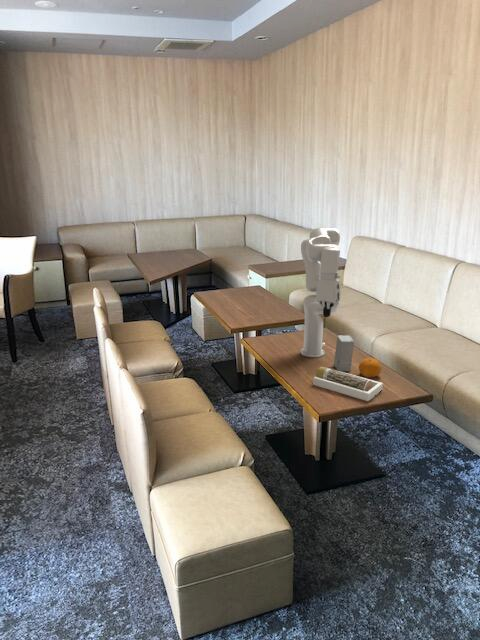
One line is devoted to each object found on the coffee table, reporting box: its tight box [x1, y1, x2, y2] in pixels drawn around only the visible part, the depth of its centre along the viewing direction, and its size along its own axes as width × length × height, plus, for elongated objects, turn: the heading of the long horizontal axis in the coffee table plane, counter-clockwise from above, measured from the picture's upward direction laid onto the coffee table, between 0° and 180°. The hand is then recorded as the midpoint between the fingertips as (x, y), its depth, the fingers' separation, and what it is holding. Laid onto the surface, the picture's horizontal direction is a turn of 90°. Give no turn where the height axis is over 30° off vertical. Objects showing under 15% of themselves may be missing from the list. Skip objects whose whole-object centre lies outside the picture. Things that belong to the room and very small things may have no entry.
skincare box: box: [333, 334, 355, 372], centre depth 256 cm, size 8×7×16 cm
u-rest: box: [312, 368, 384, 402], centre depth 236 cm, size 14×27×4 cm, turn 52°
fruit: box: [358, 357, 382, 378], centre depth 249 cm, size 10×10×8 cm
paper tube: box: [315, 366, 372, 392], centre depth 236 cm, size 7×7×25 cm
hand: (326, 316), depth 235 cm, fingers closed
